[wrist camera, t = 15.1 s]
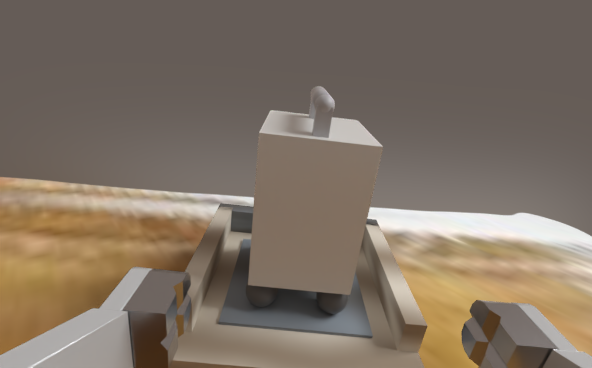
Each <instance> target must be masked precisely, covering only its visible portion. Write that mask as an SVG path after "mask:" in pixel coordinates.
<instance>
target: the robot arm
mask: <svg viewBox="0 0 592 368" xmlns="http://www.w3.org/2000/svg"><path fill="white" fill-rule="evenodd" d="M190 286H191V276H190V274H189V273H187V272H178V271H169V270H161V269H151V268H141V267H134V268H132V269H130V270H129V271H128V273H127V274H126V275H125V276H124V278H123V279H122V280H121V281H120V283H119V284H118V285H117V286H116V288H115V289H114V290H113V291H112V293H111V294H110V295H109V296H108V298H107V299H106V300H105V301H104V303H103V304H102V305H101V306H100V308H99V309H95V308H92V309H90V310H88V311H86V312H84V313H82V314H80V315H78V316H77V317H75V318H73V319H71V320H69V321H67V322H65V323H63V324H61V325H59V326H57V327H55V328H53V329H51V330H49V331H47V332H45V333H43V334H41V335H39V336H37V337H35V338H33V339H31V340H29V341H27V342H25V343H23V344H22V345H20V346H18V347H16V348H14V349H12V350H10V351H8V352H6V353H4V354H2V355H0V368H170V366H171V363H172V361H173V358H174V356H175V354H176V351H177V349H178V337H180V336H181V335H182V334H184V332H185V329H186V327H187V324H188V320H189V316H190V310H191V297H190V296H189V295H188V293H187V292H188V290H189V288H190ZM470 313H471V315H472V318H471V319H469V320H468V321H467V322H465V324H464V326H463V329H462V344H463V347H464V350H465V352H466V354H467V355H468V357H469V359H471V360H472V361H473V362H474V363H476V364H477V365H478V366H479V367H478V368H592V356H590V355H588V354H587V353H585V352H579V351H577V350H576V349H575V347H574V346H573V345H572V344H571V343H570V342H569V341H568V340H567V339H566V338H565V337H564V336H563V335H562V334H561V333H560V332H559V331H558V330H557V329H556V328H555V327H554V326H553V325H552V324H551V323H550V322H549V321H548V320H547V319H546V317H545V316H544V315H543V314H542V313H541V312H540V311H539V310H538V309H537V308H536V307H534V306H532V305H530V304H524V303H504V302H493V301H482V300H476V301H475V302H474V303H473V304H472V306H471V309H470Z"/></svg>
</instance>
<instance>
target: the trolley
mask: <svg viewBox="0 0 592 368" xmlns="http://www.w3.org/2000/svg"><path fill="white" fill-rule="evenodd" d="M334 103H335V102H334V100H333V98H332V97H331V96H330V95H329V94H328V93H327V91H326V90H325V89H324V88H323V87H320V86H316V87H315V88H313V89H312V91H311V105H310V111H309V115H307V114H299V113H291V112H282V111H273V110H271V111H270V112H269V114H268V116H267V119H266V120H265V122H264V124H263V126H262V128H261V130H260V132H259V142H258V156H257V168H256V182H255V195H254V209H253V223H252V236H251V250H250V263H249V277H248V283H247V285H246V296H247V298H248V300H249V301H250V303H252V304H253V305H255V306H257V307H265V306H268V305H270V304H271V303H273V301H274V300H275V299H276V297H277V294H278V288H283V289H293V290H304V291H314V292H317V293H316V299H317V303H318V305H319V306H320V308H321V309H322V310H323V311H325V312H327V313H330V314H336V313H339V312H341V311H342V310H343V309H344V308H345V307H346V305H347V303H348V298H349V297H348V295H350V293H351V288H352V284H353V279H354V275H355V270H356V266H357V261H358V257H359V253H360V248H361V244H362V239H363V235H364V230H365V226H366V221H367V217H368V212H369V208H370V203H371V199H372V194H373V190H374V185H375V181H376V176H377V172H378V167H379V163H380V159H381V154H382V149H383V146H382V145H381V144H380V143H379V142H378V141H377V140H376V139H375V138H374V137H373V136H372V135H371V134H370V133H369V132H368V131H367V130H366V129H365V128H364V127H363V125H362V124H360V122H359V121H358V120H350V119H341V118H333V117H332V113H333V110H334V107H335V104H334Z"/></svg>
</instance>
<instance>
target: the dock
mask: <svg viewBox="0 0 592 368" xmlns="http://www.w3.org/2000/svg"><path fill="white" fill-rule="evenodd" d="M253 209H254V207H250V206H240V205H231V204H220V206H219V208H218V210H217V211H216V213H215V215H214V217H213V219H212V221H211V223H210V225H209V227H208V229H207V230H206V232H205V234H204V236H203V238H202V240H201V242H200V244H199V246H198V247H197V249H196V251H195V253H194V255H193V257H192V259H191V261H190V263H189V265H188V266H187V268H186V270H185V272H187V273H189V274H190V276H191V286H190V288H189V290H188V292H187V293H188V295H189V296H190V297H191V310H190V316H189V320H188V324H187V327H186V329H185V332H184V334H182V335H181V336H180V337H178V349H177V351H176V354H175V356H174V358H173V361H172V363H171V366H170V368H424V366H423V363H422V361H421V358H420V356H419V354H418V351H419V348H420V346H421V343H422V340H423V337H424V334H425V331H426V329H427V324H426V322H425V320H424V318H423V316H422V314H421V311H420V309H419V307H418V305H417V303H416V301H415V299H414V297H413V295H412V293H411V291H410V289H409V287H408V285H407V283H406V281H405V278H404V276H403V274H402V272H401V270H400V268H399V266H398V264H397V262H396V260H395V258H394V256H393V254H392V252H391V250H390V248H389V246H388V243H387V241H386V239H385V237H384V235H383V233H382V231H381V229H380V227H379V225H378V223H377V221H376V220H372V219H367V221H366V226H365V230H364V235H363V239H362V244H361V248H360V253H359V257H358V261H357V266H356V270H355V275H354V279H353V284H352V288H351V293H350V295H348V297H349V298H348V303H347V305H346V307H345V308H344V309H343V310H342V311H341V312H339V313H336V314H330V313H327V312H325V311H323V310H322V309H321V308H320V306H319V305H318V303H317V299H316V293H317V292H314V291H304V290H293V289H283V288H278V294H277V297H276V299H275V300H274V301H273V303H271V304H270V305H268V306H265V307H257V306H255V305H253V304H252V303H250V301H249V300H248V298H247V296H246V285H247V283H248V277H249V263H250V250H251V236H252V223H253Z"/></svg>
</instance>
